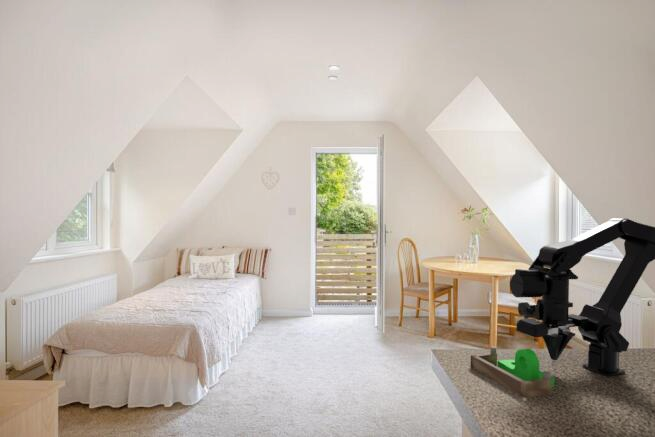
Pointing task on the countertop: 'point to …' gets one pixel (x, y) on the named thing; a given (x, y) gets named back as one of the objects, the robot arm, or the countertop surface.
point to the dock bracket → (510, 376)
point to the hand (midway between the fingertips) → (553, 359)
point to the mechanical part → (524, 366)
